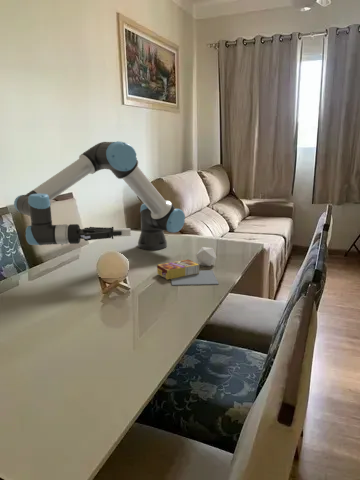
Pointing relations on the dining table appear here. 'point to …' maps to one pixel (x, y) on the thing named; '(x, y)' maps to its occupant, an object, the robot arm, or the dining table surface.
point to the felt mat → (196, 279)
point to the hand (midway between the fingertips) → (130, 232)
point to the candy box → (178, 269)
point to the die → (206, 256)
